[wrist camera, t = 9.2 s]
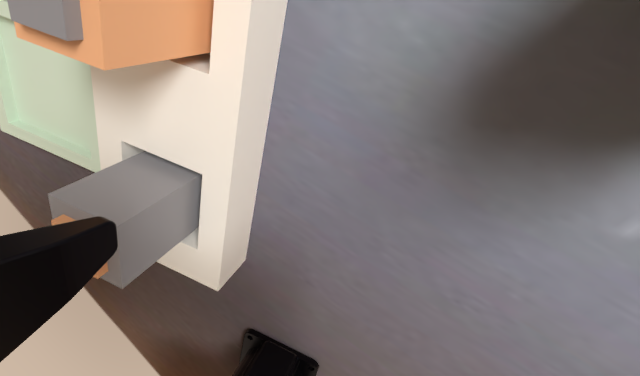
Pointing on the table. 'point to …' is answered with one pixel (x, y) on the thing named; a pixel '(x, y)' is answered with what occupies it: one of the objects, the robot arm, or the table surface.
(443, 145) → the table surface
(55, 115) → the tray
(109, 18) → the plug
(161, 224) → the twin plug
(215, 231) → the outlet strip
